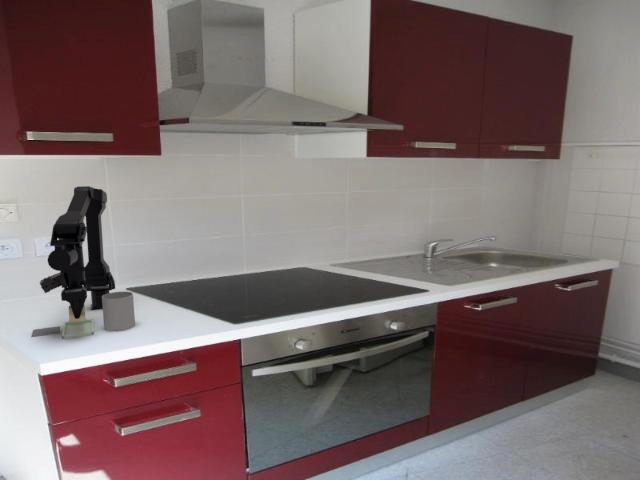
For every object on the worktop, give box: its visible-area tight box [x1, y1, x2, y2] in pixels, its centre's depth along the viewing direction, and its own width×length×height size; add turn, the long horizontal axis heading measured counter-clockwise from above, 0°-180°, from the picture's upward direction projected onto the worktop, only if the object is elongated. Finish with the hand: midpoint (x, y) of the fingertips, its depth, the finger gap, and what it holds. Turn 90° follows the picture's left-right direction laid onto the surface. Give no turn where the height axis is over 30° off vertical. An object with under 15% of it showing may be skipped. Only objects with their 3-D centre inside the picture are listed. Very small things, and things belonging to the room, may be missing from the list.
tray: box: [61, 318, 95, 340], centre depth 145 cm, size 13×8×1 cm, turn 25°
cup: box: [102, 291, 136, 333], centre depth 146 cm, size 8×8×10 cm
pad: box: [30, 325, 61, 338], centre depth 143 cm, size 7×7×1 cm
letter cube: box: [68, 305, 86, 323], centre depth 144 cm, size 4×4×4 cm
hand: (77, 316), depth 144 cm, fingers closed on letter cube, 4 cm apart
